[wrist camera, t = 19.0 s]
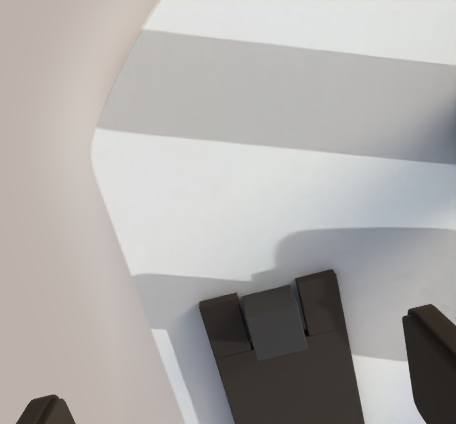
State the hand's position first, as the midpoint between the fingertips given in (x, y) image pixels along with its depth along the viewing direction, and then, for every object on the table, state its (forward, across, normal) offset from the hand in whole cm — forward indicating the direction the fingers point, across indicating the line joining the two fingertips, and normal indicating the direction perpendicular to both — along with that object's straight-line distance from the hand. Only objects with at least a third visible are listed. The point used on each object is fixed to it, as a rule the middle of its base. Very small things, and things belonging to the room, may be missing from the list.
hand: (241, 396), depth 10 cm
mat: (+26, -2, +26) cm, 37 cm away
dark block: (+26, -2, +14) cm, 30 cm away
